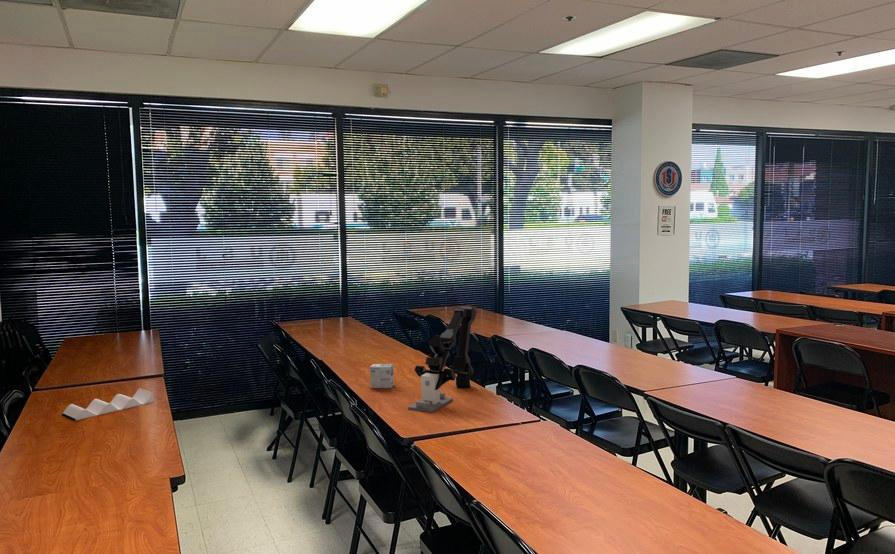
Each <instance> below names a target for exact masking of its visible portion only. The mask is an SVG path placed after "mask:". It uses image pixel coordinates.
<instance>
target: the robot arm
mask: <svg viewBox="0 0 895 554" xmlns="http://www.w3.org/2000/svg"><path fill="white" fill-rule="evenodd" d="M476 316H477V310H476V309H475V307H474V306H460V307H459V308H455V309H454V311H453V315H452V316H451V319H450V322H449V324H448V325H447V328H446V330H445V331H444V332H442V333H441V334H440V335H438V334H435V336H434V337H432V338H430V339H429V341H428V345H429V347H430V349H431V351H432V352H433V353H434V354H435V355H434V357H431V356H430V357H429V356H427V357H425V358H426V359H425V365H427V368H428V369H427V368H426V367H425V366H424V365H416V366H415V367H414V369H413V370H414V372H415V374H416V375H417V376H418V377H419V378H421V375H423V374H425V373H431V374H439V379H438V382H437V384H436V387H435V390H437V389H439V388H441V387H442V386H443V385H445V384H446V383H447V382H450V381H455V386H456V387H457V388H459V389H462V388H463V389H464V388H471V376H472V375H474V368H473V366H472V365H471V358H470V357H469V345H470V337H471V327H472V325H473V323H474V321H475V320H476ZM459 329H460V331H459ZM458 331H459V339H458V349H457V353H456V355H455V356H453V360H452V368H446V366H447V365H446V362H447V360H448V358H450V357H451V354H450V351H449V350H453V349H455V348H454V347H456V344H457V343H456V342H457V336H456V335H457V333H458ZM448 349H449V350H448Z"/></svg>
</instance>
